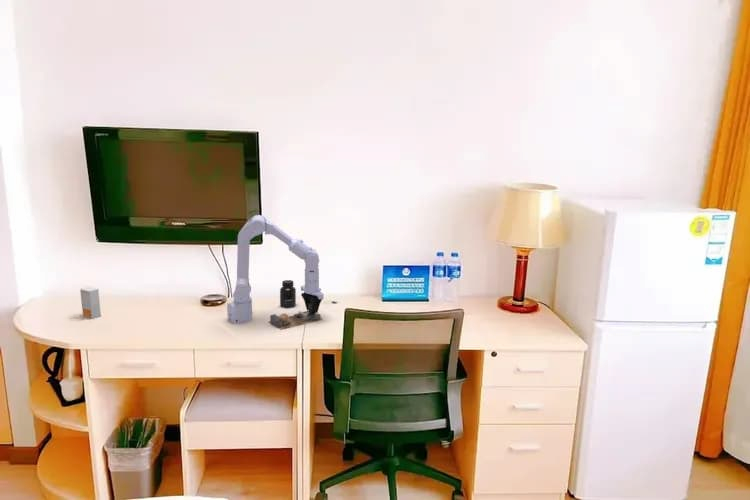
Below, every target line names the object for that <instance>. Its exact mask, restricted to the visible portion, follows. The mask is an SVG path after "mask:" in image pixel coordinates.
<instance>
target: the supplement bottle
mask: <svg viewBox="0 0 750 500" xmlns="http://www.w3.org/2000/svg"><path fill="white" fill-rule="evenodd" d="M281 282H282V283H281V284H282V287H280V289H279V306H280V308H283V309H292V308H295V307H296V306H297V302H296V301H297V292H296V291H297V289H296V287H295V286H294V281H293V280H291V279H285V280H282V281H281Z"/></svg>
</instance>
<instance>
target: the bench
mask: <svg viewBox="0 0 750 500" xmlns="http://www.w3.org/2000/svg"><path fill="white" fill-rule="evenodd" d="M301 312H302V311H301ZM307 312H308V310H306V311H303V312H302V313H307ZM279 316H280V315H277V314H275V313H274V314H270V315H269V321H267V323H268V324H271V325H272V326H274V327H276V328H277V329H279V330H280V331H282V330H286V329H291V328H294V327H299V326H303V325H307V324H311V323H315V322H320V321H323V320H324V319H323V318H321V314H320V313H318V314H316V315H312V316H308V317H304V318H299V317H298V312H297V313H294V314H293V315H291V316H288V317H289V320H288V322H285V323H283V324H282V318H280V317H279Z"/></svg>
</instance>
